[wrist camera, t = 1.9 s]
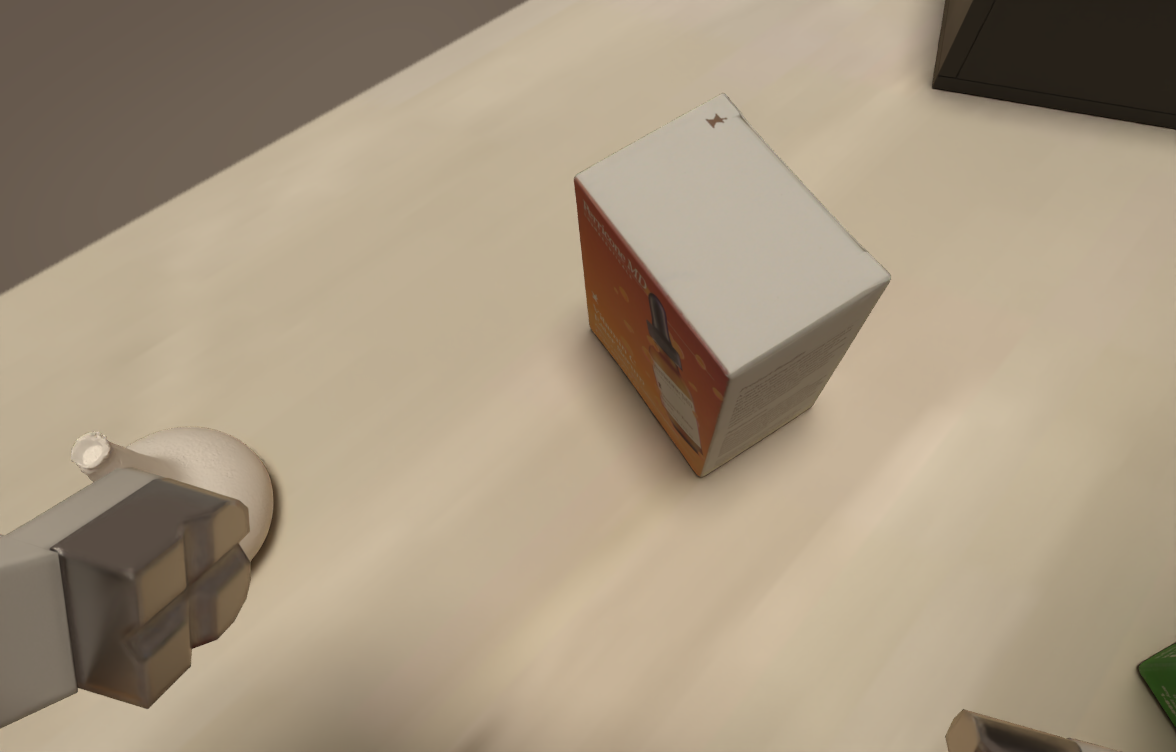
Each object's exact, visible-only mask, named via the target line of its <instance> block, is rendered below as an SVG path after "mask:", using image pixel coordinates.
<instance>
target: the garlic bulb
mask: <svg viewBox="0 0 1176 752" xmlns="http://www.w3.org/2000/svg"><path fill="white" fill-rule="evenodd" d="M95 435H97V436H96V437H95ZM102 436H103V438H102ZM102 436H101V432H98V431H95V432H92V433H91V432H88V433H85V434H84V435H83V436H81V437H79V438H78V440H76V442H75V444H74V445H73V447H72V449H71V461H72V462H75V463H76V464H77V466H79V468H80V469H81V471H82V472H83V473H85V474H86V475H87V476H88V477H89V478H90V479H91V480H92V481H93V482H95V481H97V480H98V479H100V478H102V477H103V476H105V475H107V474H108V473H110V472H112V471H113V470H115V469H117V468H128V467H133V468H137V469H140V470H143V471H146V472H149V473H153V474H156V475H159V476H162V477H164V478H171V479H174V480H177V481H180V482H183V483H187V484H190V485H193V486H196V487H199V488H202V489H206V490H209V491H212V492H215V493H218V494H222V495H225V496H228V497H231V498H234V499H237V500H240V501H241V502H242V503H243V504H244V505H245V506H247V507H248V511H249V525H250V532H249V533H248V534H247V535H246V536H245V537H244V538H243V539H242V541H241V542H240V543H239V545H240V546H241V548H242V549H243V551H244V553H245V554H246V556H247V557H248V559H249V561H251V560H252V559H253V557H254V556H255V555H256V554H257V552H258V551H259V549H260V548H261V546H262V544H263V542H264V540H265V538H266V536H267V534H268V530H269V527H270V524H271V521H272V515H273V489H272V484H271V480H270V477H269V474H268V472H267V470H266V468H265V466H264V464H263V463H262V461H261V460H260V459H259V457H258V456H257V455H256V454H255V453H254V452H253V451H252V449H250V448H249V447H248V446H247V445H246V444H244V443H243V442H242V441H240V440H238V439H237V438H235V437H233V436H231V435H228V434H226V433H223V432H221V431H217V430H214V429H209V428H203V427H177V428H171V429H165V430H162V431H158V432H155V433H152V434H150V435H147V436H145V437H143V438H141V439H139V440H137V441H135V442H133V443H132V444H130V445H128V446H127V447H126V448H125V447H122V446H119V445H116V444H113V443H111V442H109V441H108V440H107V437H104V434H103V435H102Z"/></svg>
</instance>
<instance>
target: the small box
mask: <svg viewBox="0 0 1176 752" xmlns="http://www.w3.org/2000/svg"><path fill="white" fill-rule="evenodd" d="M574 185H575V194H576V203H577V212H578V223H579V232H580V242H581V251H582V260H583V269H584V279H585V289H586V298H587V308H588V316H589V325H590V327H591V329H592V331H593V332H594V333H595V334H596V336H597V337H598V338H599V340H600V341H601V342H602V344H603V345H604V346H605V347H606V349H607V350H608V351H609V352H610V354H611V355H612V356H613V358H614V359H615V360H616V362H617V363H618V365H619V366H620V367H621V369H622V370H623V371H624V373H625V374H626V375H627V377H628V378H629V380H630V381H631V382H632V384H633V385H634V387H635V388H636V389H637V391H638V392H639V394H640V395H641V397H642V398H643V400H644V401H645V402H646V404H647V405H648V407H649V408H650V410H651V411H652V412H653V414H654V415H655V417H656V418H657V420H658V421H659V422H660V424H661V425H662V427H663V428H664V429H665V431H666V432H667V433H668V435H669V436H670V438H671V439H672V440H673V442H674V443H675V445H676V446H677V448H678V449H679V450H680V452H681V453H682V455H683V456H684V457H685V459H686V460H687V462H688V463H689V465H690V466H691V467H692V469H693V470H694V472H695V473H696V474H697V475H698V476H699V477H703V476H705V475H707V474H708V473H710V472H711V471H713V470H715V469H716V468H718V467H720V466H721V465H723V464H724V463H726V462H728V461H729V460H731V459H732V458H734V457H735V456H737V455H739V454H740V453H742V452H743V451H745V450H746V449H748V448H749V447H751V446H752V445H754V444H755V443H757V442H759V441H760V440H762V439H763V438H765V437H766V436H768V435H769V434H771V433H772V432H774V431H775V430H777V429H779V428H780V427H782V426H783V425H785V424H786V423H788V422H789V421H791V420H792V419H794V418H795V417H797V416H798V415H800V414H801V413H803V412H804V411H806V410H807V409H809V408H810V407H812V406H813V405H814V403H815V401H816V399H817V398H818V396H819V395H820V393H821V391H822V390H823V388H824V387H825V385H826V383H827V382H828V380H829V379H830V377H831V376H832V374H833V372H834V371H835V369H836V368H837V366H838V364H839V363H840V361H841V360H842V358H843V357H844V355H845V353H846V351H847V350H848V348H849V347H850V345H851V343H852V342H853V340H854V339H855V337H856V335H857V333H858V332H859V330H860V329H861V327H862V325H863V324H864V322H865V321H866V319H867V317H868V316H869V314H870V313H871V311H872V309H873V308H874V306H875V305H876V303H877V301H878V299H879V298H880V296H881V295H882V293H883V292H884V290H885V288H886V287H887V285H888V284H889V282H890V280H891V275H890V273H889V272H888V271H887V270H886V269H885V268H884V267H883V266H882V265H881V264H880V263H879V262H878V261H877V260H876V259H875V258H874V257H873V256H872V255H871V254H870V253H869V252H868V251H866V250H865V249H864V248H863V247H862V246H861V245H860V244H859V243H858V242H857V241H856V240H855V238H854V237H853V236H852V235H851V234H850V233H849V232H848V231H847V230H846V229H845V228H844V227H843V226H842V225H841V224H840V223H839V221H838V220H837V219H836V218H835V217H834V216H833V215H832V214H831V213H830V212H829V211H828V210H827V209H826V208H825V206H824V205H823V204H822V203H821V202H820V201H819V200H818V199H817V198H816V197H815V196H814V194H813V193H812V192H811V191H810V190H809V189H808V188H807V187H806V186H805V185H804V184H803V182H802V181H801V180H800V179H799V178H798V177H797V176H796V175H795V174H794V173H793V172H792V171H791V170H790V168H789V167H788V166H787V165H786V164H785V163H784V162H783V161H782V160H781V158H780V157H779V156H778V155H777V154H776V153H775V152H774V151H773V150H772V148H771V147H770V146H769V145H768V144H767V143H766V142H765V141H764V140H763V139H762V137H761V136H760V135H759V134H758V133H757V132H756V130H755V129H754V128H753V127H752V126H751V125H750V124H749V122H748V121H747V120H746V119H745V118H744V116H743V115H742V113H741V112H740V111H739V110H738V108H737V107H736V106H735V105H734V104H733V102H732V101H731V100H730V99H729V97H728V96H727V95H726V94H725V93H721V94H720V95H718V96H716V97H714V98H712V99H710V100H709V101H707V102H705V103H703V104H701V105H699V106H698V107H696V108H694V109H692V110H690V111H688V112H687V113H685V114H683V115H681V116H679V117H678V118H676V119H674V120H672V121H671V122H669V123H667V124H665V125H663V126H662V127H660V128H658V129H656V130H654V131H653V132H651V133H649V134H647V135H646V136H644V137H642V138H640V139H638V140H637V141H635V142H633V143H631V144H629V145H628V146H626V147H624V148H622V149H620V150H619V151H617V152H615V153H613V154H611V155H610V156H608V157H606V158H604V159H603V160H601V161H599V162H597V163H596V164H594V165H592V166H591V167H589V168H587V169H586V170H584V171H582V172H580V173H578V174H577V175H576V176H575V177H574Z"/></svg>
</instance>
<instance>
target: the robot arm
mask: <svg viewBox="0 0 1176 752" xmlns="http://www.w3.org/2000/svg"><path fill="white" fill-rule="evenodd" d="M249 532H250V525H249V511H248V507H247V506H245V505H244V504H243V503H242V502H241V501H240V500H237V499H234V498H231V497H228V496H225V495H222V494H218V493H215V492H212V491H209V490H206V489H202V488H199V487H196V486H193V485H190V484H187V483H183V482H180V481H177V480H174V479H171V478H164V477H162V476H159V475H156V474H153V473H149V472H146V471H143V470H140V469H137V468H133V467H128V468H117V469H115V470H113V471H112V472H110V473H108V474H107V475H105V476H103V477H102V478H100V479H98V480H97V481H95V482H93V483H92V484H90V485H88V486H87V487H85V488H83V489H82V490H80V491H78V492H77V493H75V494H73V495H72V496H70V497H68V498H67V499H65V500H63V501H62V502H60V503H58V504H57V505H55V506H53V507H52V508H50V509H48V510H47V511H45V512H43V513H42V514H40V515H38V516H37V517H35V518H34V519H32V520H30V521H29V522H27V523H25V524H24V525H22V526H20V527H19V528H17V529H15V530H14V531H12V532H10V533H9V534H7V535H5V536H3V535H0V728H2V727H5V726H7V725H9V724H11V723H13V722H15V721H17V720H19V719H22V718H24V717H26V716H28V715H30V714H32V713H34V712H37V711H39V710H41V709H43V708H45V707H47V706H49V705H51V704H54V703H56V702H58V701H60V700H62V699H64V698H66V697H69V696H71V695H73V694H75V693H77V692H78V688H80V689H84V690H87V691H90V692H93V693H97V694H100V695H103V696H107V697H110V698H113V699H116V700H120V701H123V702H126V703H129V704H133V705H136V706H139V707H143V708H146V709H149V708H150V707H151V706H152V705H153V704H154V703H155V702H156V701H157V700H158V699H159V698H160V697H161V696H162V695H163V694H164V693H165V692H166V691H167V690H168V689H169V688H170V687H171V686H172V685H173V684H174V683H175V682H176V681H177V680H178V679H179V678H180V677H181V676H182V675H183V674H184V673H185V672H186V671H187V670H188V669H189V668H190V667H191V656H192V649H193V648H196V647H198V646H201V645H204V644H206V643H209V642H212V641H214V640H217V639H218V638H219V637H220V636H221V635H222V634H223V633H224V632H225V631H226V630H227V629H228V628H229V627H230V625H231V624H232V623H233V622H234V621H235V619H236V617H237V615H238V613H239V612H240V610H241V608H242V606H243V604H244V602H245V600H246V598H247V594H248V590H249V585H250V581H251V562H250V561H249V559H248V557H247V556H246V554H245V553H244V551H243V549H242V548H241V546H240V545H239V543H240V542H241V541H242V539H243V538H244V537H245V536H246V535H247V534H248V533H249ZM945 738H946V743H947V747H948V752H1121V751H1118V750H1114V749H1110V748H1106V747H1102V746H1099V745H1095V744H1091V743H1087V742H1084V741H1080V740H1076V739H1072V738H1063V737H1060V736H1057V735H1053V734H1050V733H1046V732H1043V731H1039V730H1035V729H1032V728H1028V727H1025V726H1021V725H1018V724H1014V723H1011V722H1007V721H1004V720H1000V719H997V718H993V717H989V716H986V715H982V714H979V713H975V712H972V711H968V710H965V709H963V710H962V711H961V712H960V713H959V714H958V715H957V716H956V717H955V718H954V719H953V721H952V723H951V725H950V727H949V729H948V731H947V734H946V736H945Z"/></svg>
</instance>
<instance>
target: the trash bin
mask: <svg viewBox="0 0 1176 752" xmlns="http://www.w3.org/2000/svg"><path fill="white" fill-rule="evenodd" d="M932 87H933V88H937V89H943V90H949V91H955V92H961V93H967V94H973V95H979V96H985V97H991V98H997V99H1003V100H1009V101H1015V102H1021V103H1027V104H1033V105H1039V106H1045V107H1051V108H1056V109H1062V110H1068V111H1074V112H1080V113H1086V114H1092V115H1098V116H1104V117H1110V118H1116V119H1122V120H1128V121H1134V122H1140V123H1146V124H1152V125H1158V126H1164V127H1170V128H1176V0H946V2H945V8H944V14H943V21H942V27H941V33H940V40H939V46H938V52H937V59H936V65H935V71H934V78H933V84H932Z"/></svg>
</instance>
